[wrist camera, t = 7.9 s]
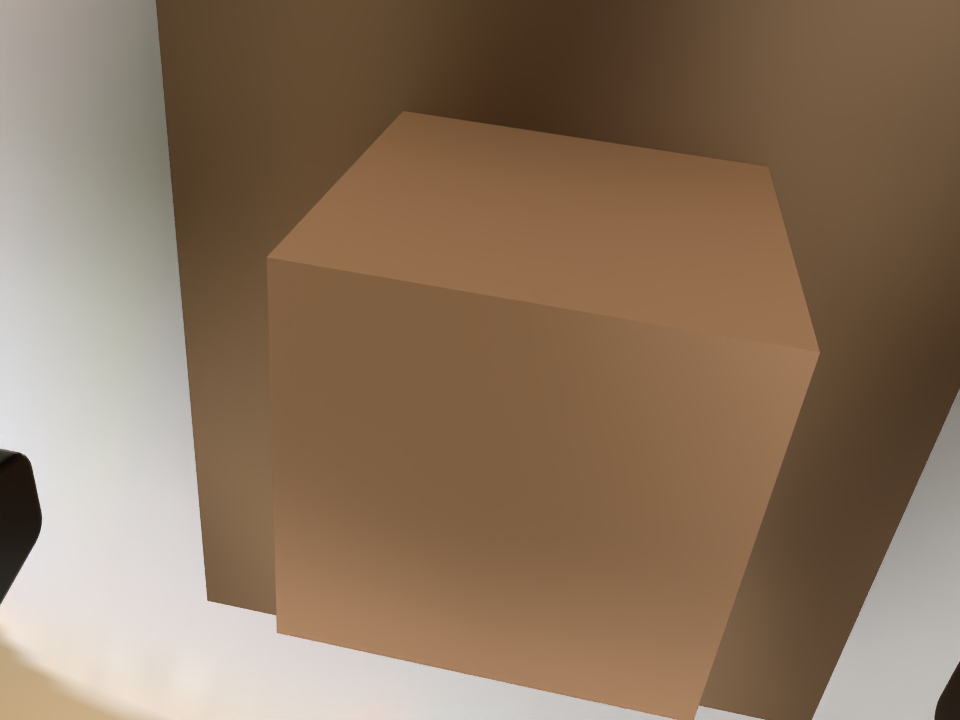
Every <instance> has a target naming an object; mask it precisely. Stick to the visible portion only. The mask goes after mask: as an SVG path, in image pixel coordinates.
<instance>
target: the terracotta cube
mask: <svg viewBox="0 0 960 720" xmlns="http://www.w3.org/2000/svg"><path fill="white" fill-rule="evenodd" d="M267 287H268V324H269V360H270V396H271V433H272V469H273V506H274V542H275V579H276V615H277V633H280V634H285V635H290V636H294V637H299V638H304V639H308V640H313V641H317V642H322V643H327V644H331V645H336V646H340V647H345V648H350V649H354V650H359V651H363V652H368V653H373V654H377V655H382V656H387V657H391V658H396V659H400V660H405V661H410V662H414V663H419V664H423V665H428V666H433V667H437V668H442V669H446V670H451V671H456V672H460V673H465V674H470V675H474V676H479V677H483V678H488V679H493V680H497V681H502V682H506V683H511V684H516V685H520V686H525V687H529V688H534V689H539V690H543V691H548V692H553V693H557V694H562V695H566V696H571V697H576V698H580V699H585V700H589V701H594V702H599V703H603V704H608V705H612V706H617V707H622V708H626V709H631V710H636V711H640V712H645V713H649V714H654V715H659V716H663V717H668V718H672V719H677V720H694V717H695V714H696V711H697V709H698V706H699V703H700V700H701V697H702V694H703V691H704V688H705V685H706V682H707V680H708V677H709V674H710V671H711V668H712V665H713V662H714V659H715V656H716V653H717V650H718V648H719V645H720V642H721V639H722V636H723V633H724V630H725V627H726V624H727V621H728V619H729V616H730V613H731V610H732V607H733V604H734V601H735V598H736V595H737V592H738V589H739V587H740V584H741V581H742V578H743V575H744V572H745V569H746V566H747V563H748V560H749V558H750V555H751V552H752V549H753V546H754V543H755V540H756V537H757V534H758V531H759V528H760V526H761V523H762V520H763V517H764V514H765V511H766V508H767V505H768V502H769V499H770V497H771V494H772V491H773V488H774V485H775V482H776V479H777V476H778V473H779V470H780V467H781V465H782V462H783V459H784V456H785V453H786V450H787V447H788V444H789V441H790V438H791V436H792V433H793V430H794V427H795V424H796V421H797V418H798V415H799V412H800V409H801V406H802V404H803V401H804V398H805V395H806V392H807V389H808V386H809V383H810V380H811V377H812V375H813V372H814V369H815V366H816V363H817V360H818V357H819V354H820V351H819V347H818V344H817V340H816V336H815V333H814V329H813V326H812V322H811V318H810V315H809V311H808V308H807V304H806V300H805V297H804V293H803V290H802V286H801V283H800V279H799V275H798V272H797V268H796V265H795V261H794V257H793V254H792V250H791V247H790V243H789V239H788V236H787V232H786V229H785V225H784V221H783V218H782V214H781V211H780V207H779V204H778V200H777V196H776V193H775V189H774V186H773V182H772V178H771V175H770V171H769V168H768V167H767V166H760V165H754V164H747V163H741V162H734V161H727V160H721V159H714V158H708V157H701V156H695V155H688V154H682V153H675V152H668V151H662V150H655V149H649V148H642V147H636V146H629V145H623V144H616V143H610V142H603V141H596V140H590V139H583V138H577V137H570V136H564V135H557V134H551V133H544V132H537V131H531V130H524V129H518V128H511V127H505V126H498V125H492V124H485V123H479V122H472V121H465V120H459V119H452V118H446V117H439V116H433V115H426V114H420V113H413V112H406V111H403V112H402V113H401V114H400V115H399V116H398V117H397V118H396V119H395V120H394V121H393V122H392V123H391V125H390V126H389V127H388V128H387V129H386V130H385V131H384V132H383V133H382V134H381V135H380V136H379V137H378V138H377V140H376V141H375V142H374V143H373V144H372V145H371V146H370V147H369V148H368V149H367V150H366V151H365V152H364V153H363V155H362V156H361V157H360V158H359V159H358V160H357V161H356V162H355V163H354V164H353V165H352V166H351V167H350V168H349V170H348V171H347V172H346V173H345V174H344V175H343V176H342V177H341V178H340V179H339V180H338V181H337V182H336V183H335V185H334V186H333V187H332V188H331V189H330V190H329V191H328V192H327V193H326V194H325V195H324V196H323V197H322V198H321V200H320V201H319V202H318V203H317V204H316V205H315V206H314V207H313V208H312V209H311V210H310V211H309V212H308V213H307V215H306V216H305V217H304V218H303V219H302V220H301V221H300V222H299V223H298V224H297V225H296V226H295V227H294V228H293V230H292V231H291V232H290V233H289V234H288V235H287V236H286V237H285V238H284V239H283V240H282V241H281V242H280V243H279V245H278V246H277V247H276V248H275V249H274V250H273V251H272V252H271V253H270V254H269V255H268V256H267Z"/></svg>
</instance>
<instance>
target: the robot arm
mask: <svg viewBox="0 0 960 720" xmlns="http://www.w3.org/2000/svg"><path fill="white" fill-rule="evenodd" d="M41 525H42V513H41V508H40V503H39V499H38V494H37V489H36V484H35V479H34V475H33V470H32V466H31V463H30V461H29V459H28V458H27V457H26V456H25V455H23V454H21V453H19V452H15V451H9V450H4V449H0V605H1V603H2V601H3V599H4V598H5V596H6V594H7V592H8V590H9V589H10V587H11V585H12V583H13V582H14V580H15V578H16V576H17V575H18V573H19V571H20V569H21V568H22V566H23V564H24V562H25V560H26V559H27V557H28V555H29V553H30V552H31V550H32V548H33V546H34V545H35V543H36V541H37V539H38V536H39V533H40V530H41ZM935 720H960V662H959V664H958V665H957V667H956V669H955V671H954V673H953V674H952V676H951V678H950V680H949V682H948V684H947V685H946V687H945V689H944V691H943V693H942V694H941V696H940V698H939V701H938V703H937V707H936V711H935Z"/></svg>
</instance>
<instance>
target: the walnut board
mask: <svg viewBox="0 0 960 720" xmlns="http://www.w3.org/2000/svg"><path fill="white" fill-rule="evenodd" d="M156 6H157V18H158V29H159V41H160V53H161V64H162V76H163V88H164V99H165V111H166V122H167V134H168V146H169V157H170V169H171V181H172V192H173V204H174V216H175V227H176V239H177V250H178V262H179V274H180V285H181V297H182V309H183V320H184V332H185V344H186V355H187V367H188V379H189V390H190V402H191V413H192V425H193V437H194V448H195V460H196V472H197V483H198V495H199V507H200V518H201V530H202V542H203V553H204V565H205V576H206V588H207V600H208V601H212V602H217V603H221V604H226V605H231V606H235V607H240V608H245V609H249V610H254V611H259V612H263V613H268V614H273V615H276V579H275V542H274V506H273V469H272V433H271V396H270V360H269V324H268V287H267V256H268V255H269V254H270V253H271V252H272V251H273V250H274V249H275V248H276V247H277V246H278V245H279V243H280V242H281V241H282V240H283V239H284V238H285V237H286V236H287V235H288V234H289V233H290V232H291V231H292V230H293V228H294V227H295V226H296V225H297V224H298V223H299V222H300V221H301V220H302V219H303V218H304V217H305V216H306V215H307V213H308V212H309V211H310V210H311V209H312V208H313V207H314V206H315V205H316V204H317V203H318V202H319V201H320V200H321V198H322V197H323V196H324V195H325V194H326V193H327V192H328V191H329V190H330V189H331V188H332V187H333V186H334V185H335V183H336V182H337V181H338V180H339V179H340V178H341V177H342V176H343V175H344V174H345V173H346V172H347V171H348V170H349V168H350V167H351V166H352V165H353V164H354V163H355V162H356V161H357V160H358V159H359V158H360V157H361V156H362V155H363V153H364V152H365V151H366V150H367V149H368V148H369V147H370V146H371V145H372V144H373V143H374V142H375V141H376V140H377V138H378V137H379V136H380V135H381V134H382V133H383V132H384V131H385V130H386V129H387V128H388V127H389V126H390V125H391V123H392V122H393V121H394V120H395V119H396V118H397V117H398V116H399V115H400V114H401V113H402V112H403V111H406V112H413V113H420V114H426V115H433V116H439V117H446V118H452V119H459V120H465V121H472V122H479V123H485V124H492V125H498V126H505V127H511V128H518V129H524V130H531V131H537V132H544V133H551V134H557V135H564V136H570V137H577V138H583V139H590V140H596V141H603V142H610V143H616V144H623V145H629V146H636V147H642V148H649V149H655V150H662V151H668V152H675V153H682V154H688V155H695V156H701V157H708V158H714V159H721V160H727V161H734V162H741V163H747V164H754V165H760V166H767V167H768V168H769V171H770V175H771V178H772V182H773V186H774V189H775V193H776V196H777V200H778V204H779V207H780V211H781V214H782V218H783V221H784V225H785V229H786V232H787V236H788V239H789V243H790V247H791V250H792V254H793V257H794V261H795V265H796V268H797V272H798V275H799V279H800V283H801V286H802V290H803V293H804V297H805V300H806V304H807V308H808V311H809V315H810V318H811V322H812V326H813V329H814V333H815V336H816V340H817V344H818V347H819V351H820V354H819V357H818V360H817V363H816V366H815V369H814V372H813V375H812V377H811V380H810V383H809V386H808V389H807V392H806V395H805V398H804V401H803V404H802V406H801V409H800V412H799V415H798V418H797V421H796V424H795V427H794V430H793V433H792V436H791V438H790V441H789V444H788V447H787V450H786V453H785V456H784V459H783V462H782V465H781V467H780V470H779V473H778V476H777V479H776V482H775V485H774V488H773V491H772V494H771V497H770V499H769V502H768V505H767V508H766V511H765V514H764V517H763V520H762V523H761V526H760V528H759V531H758V534H757V537H756V540H755V543H754V546H753V549H752V552H751V555H750V558H749V560H748V563H747V566H746V569H745V572H744V575H743V578H742V581H741V584H740V587H739V589H738V592H737V595H736V598H735V601H734V604H733V607H732V610H731V613H730V616H729V619H728V621H727V624H726V627H725V630H724V633H723V636H722V639H721V642H720V645H719V648H718V650H717V653H716V656H715V659H714V662H713V665H712V668H711V671H710V674H709V677H708V680H707V682H706V685H705V688H704V691H703V694H702V697H701V700H700V703H699V705H700V706H704V707H709V708H714V709H719V710H723V711H728V712H733V713H737V714H742V715H747V716H751V717H756V718H761V719H765V720H812V718H813V715H814V713H815V711H816V709H817V707H818V704H819V702H820V700H821V698H822V695H823V693H824V691H825V689H826V686H827V684H828V682H829V680H830V677H831V675H832V673H833V671H834V668H835V666H836V664H837V662H838V659H839V657H840V655H841V653H842V650H843V648H844V646H845V644H846V642H847V639H848V637H849V635H850V633H851V630H852V628H853V626H854V624H855V621H856V619H857V617H858V615H859V612H860V610H861V608H862V606H863V603H864V601H865V599H866V597H867V594H868V592H869V590H870V588H871V585H872V583H873V581H874V579H875V577H876V574H877V572H878V570H879V568H880V565H881V563H882V561H883V559H884V556H885V554H886V552H887V550H888V547H889V545H890V543H891V541H892V538H893V536H894V534H895V532H896V529H897V527H898V525H899V523H900V520H901V518H902V516H903V514H904V512H905V509H906V507H907V505H908V503H909V500H910V498H911V496H912V494H913V491H914V489H915V487H916V485H917V482H918V480H919V478H920V476H921V473H922V471H923V469H924V467H925V464H926V462H927V460H928V458H929V455H930V453H931V451H932V449H933V446H934V444H935V442H936V440H937V438H938V435H939V433H940V431H941V429H942V426H943V424H944V422H945V420H946V417H947V415H948V413H949V411H950V408H951V406H952V404H953V402H954V399H955V397H956V395H957V393H958V390H959V388H960V0H156Z"/></svg>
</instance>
